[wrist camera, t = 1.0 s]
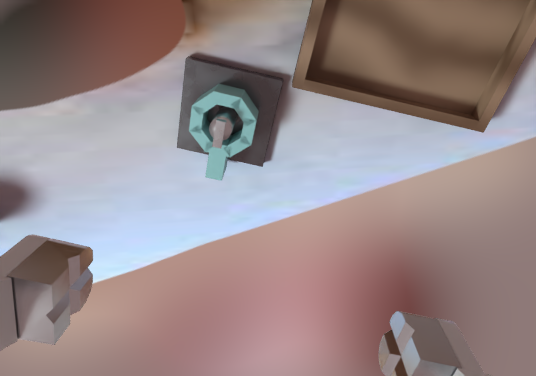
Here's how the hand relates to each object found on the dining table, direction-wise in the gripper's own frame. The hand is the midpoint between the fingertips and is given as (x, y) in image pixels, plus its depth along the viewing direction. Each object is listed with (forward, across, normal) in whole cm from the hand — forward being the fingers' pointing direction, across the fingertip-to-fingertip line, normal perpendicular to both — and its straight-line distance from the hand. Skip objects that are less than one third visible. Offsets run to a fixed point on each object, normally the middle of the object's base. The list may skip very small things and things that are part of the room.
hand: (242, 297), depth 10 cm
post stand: (+32, +5, +3) cm, 33 cm away
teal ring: (+31, +5, +5) cm, 32 cm away
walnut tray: (+31, -11, -8) cm, 34 cm away
